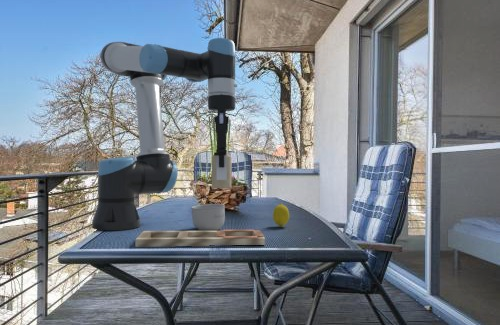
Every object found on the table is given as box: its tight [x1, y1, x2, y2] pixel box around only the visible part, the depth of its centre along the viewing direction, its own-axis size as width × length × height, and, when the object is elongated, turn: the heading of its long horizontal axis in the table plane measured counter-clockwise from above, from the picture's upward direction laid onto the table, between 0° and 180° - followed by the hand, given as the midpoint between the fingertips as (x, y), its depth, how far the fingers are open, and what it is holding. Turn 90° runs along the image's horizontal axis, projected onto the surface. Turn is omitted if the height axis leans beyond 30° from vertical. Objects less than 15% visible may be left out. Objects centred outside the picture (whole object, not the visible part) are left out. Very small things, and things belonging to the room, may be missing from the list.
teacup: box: [191, 203, 226, 231], centre depth 134 cm, size 14×11×8 cm
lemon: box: [272, 203, 290, 228], centre depth 139 cm, size 6×6×8 cm
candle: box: [211, 152, 232, 189], centre depth 113 cm, size 6×6×10 cm
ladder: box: [134, 229, 266, 248], centre depth 114 cm, size 34×12×2 cm, turn 95°
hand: (221, 179), depth 113 cm, fingers closed on candle, 5 cm apart
